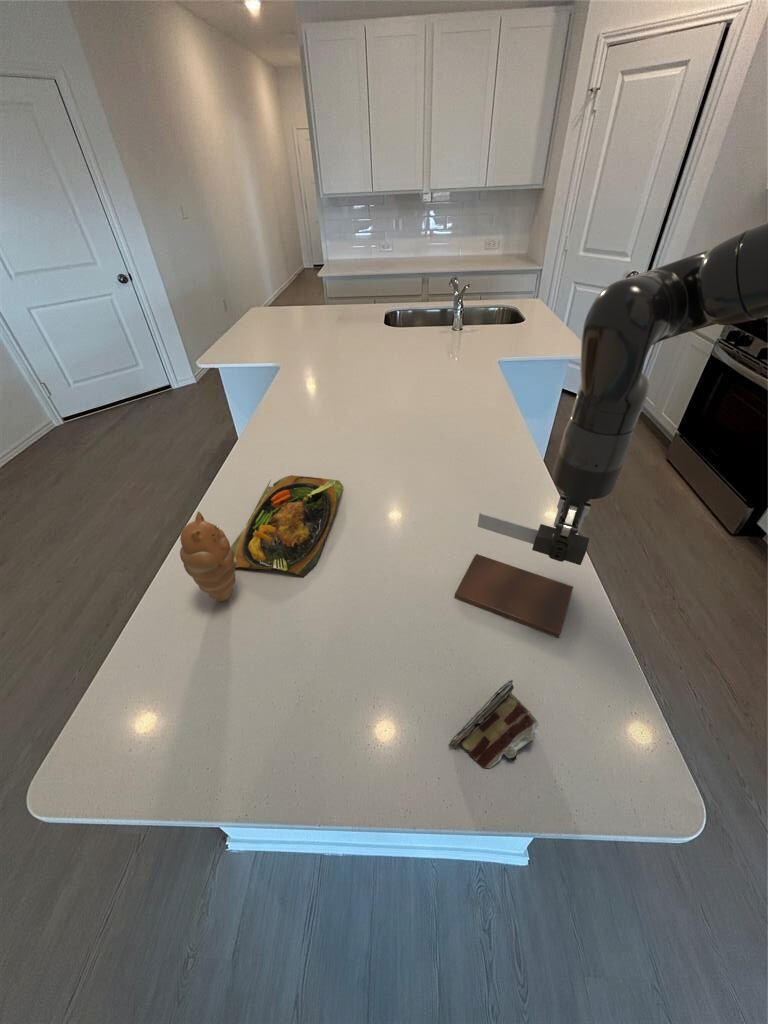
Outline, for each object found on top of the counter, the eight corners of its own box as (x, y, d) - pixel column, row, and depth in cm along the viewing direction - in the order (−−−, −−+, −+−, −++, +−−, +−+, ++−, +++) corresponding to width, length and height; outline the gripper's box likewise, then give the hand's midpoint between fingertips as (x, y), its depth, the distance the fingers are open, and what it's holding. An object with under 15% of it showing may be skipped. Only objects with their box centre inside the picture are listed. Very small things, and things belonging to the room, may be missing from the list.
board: (571, 590, 78) (573, 586, 77) (558, 638, 71) (560, 634, 70) (475, 557, 85) (475, 553, 84) (454, 597, 78) (454, 593, 77)
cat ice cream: (244, 612, 76) (216, 537, 65) (197, 619, 76) (161, 544, 64) (248, 575, 83) (223, 501, 71) (205, 580, 82) (173, 506, 71)
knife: (584, 552, 65) (589, 537, 63) (580, 565, 63) (586, 551, 61) (480, 520, 71) (482, 506, 69) (474, 532, 69) (476, 517, 67)
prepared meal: (310, 565, 79) (217, 553, 82) (312, 578, 82) (221, 567, 84) (346, 479, 101) (272, 472, 103) (347, 491, 103) (274, 484, 106)
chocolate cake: (484, 795, 55) (553, 735, 52) (444, 746, 57) (509, 686, 55) (498, 762, 63) (558, 709, 61) (463, 721, 66) (519, 668, 63)
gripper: (617, 492, 48) (576, 592, 60) (629, 433, 58) (592, 529, 69) (548, 474, 51) (521, 573, 62) (570, 421, 60) (543, 515, 72)
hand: (558, 550), depth 66 cm, fingers closed on knife, 3 cm apart
